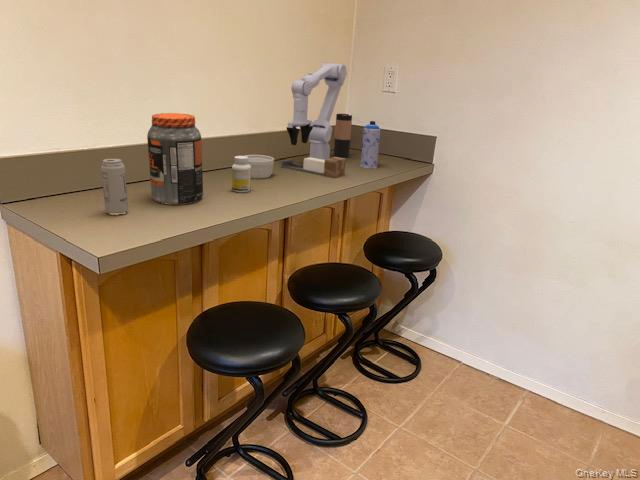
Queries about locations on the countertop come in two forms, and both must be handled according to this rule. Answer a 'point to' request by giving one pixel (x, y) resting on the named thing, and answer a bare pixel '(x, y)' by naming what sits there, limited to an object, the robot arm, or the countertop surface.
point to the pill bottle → (241, 174)
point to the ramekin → (260, 166)
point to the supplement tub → (175, 159)
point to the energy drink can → (114, 186)
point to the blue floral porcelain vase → (370, 146)
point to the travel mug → (342, 135)
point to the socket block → (334, 167)
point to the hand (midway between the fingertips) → (299, 143)
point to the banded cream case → (314, 164)
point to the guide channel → (290, 162)
